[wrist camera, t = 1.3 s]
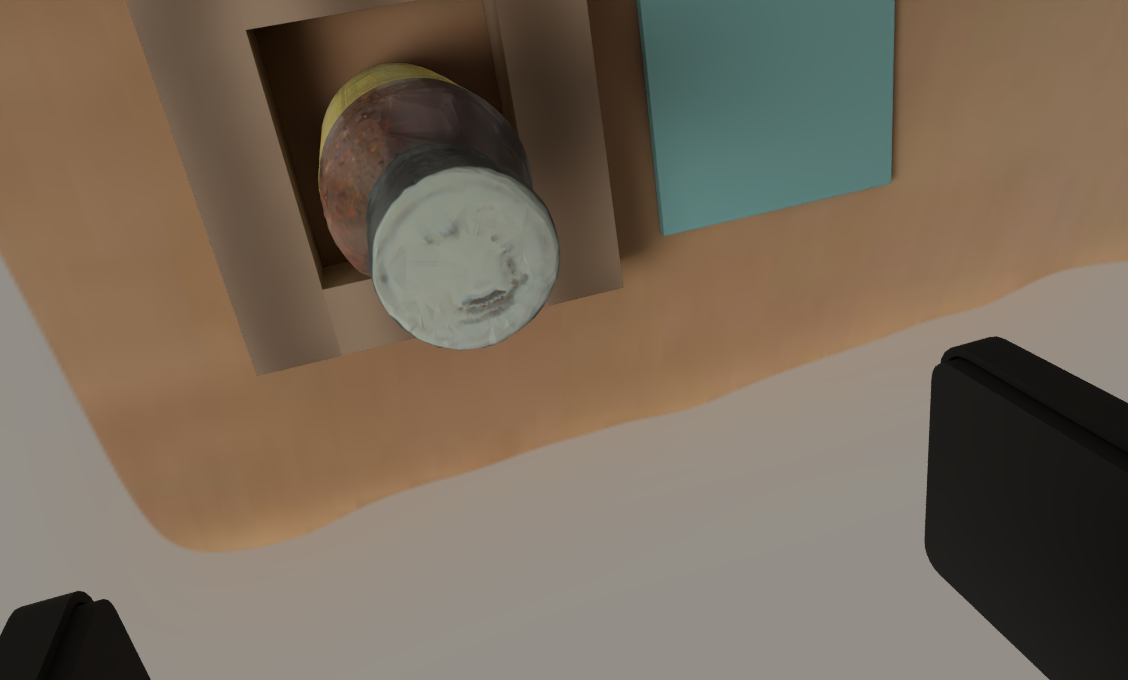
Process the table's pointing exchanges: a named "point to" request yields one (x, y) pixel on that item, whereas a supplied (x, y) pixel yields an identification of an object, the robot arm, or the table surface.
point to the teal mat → (765, 103)
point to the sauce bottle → (436, 206)
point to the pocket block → (270, 187)
